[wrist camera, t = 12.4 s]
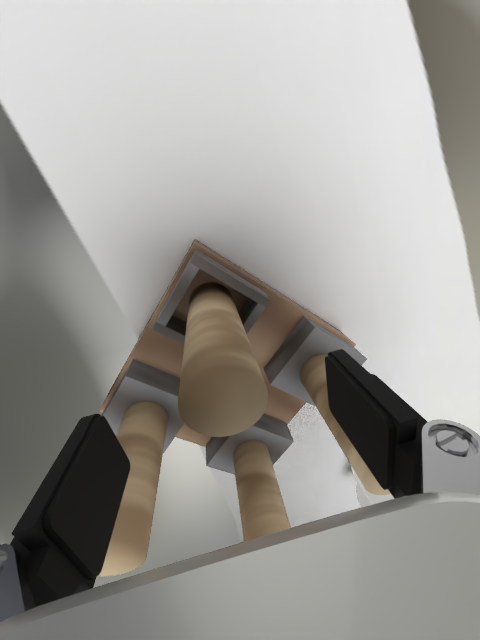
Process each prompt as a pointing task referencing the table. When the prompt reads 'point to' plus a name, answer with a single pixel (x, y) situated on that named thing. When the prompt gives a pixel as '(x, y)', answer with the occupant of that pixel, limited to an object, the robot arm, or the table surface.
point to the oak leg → (218, 367)
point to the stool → (229, 451)
